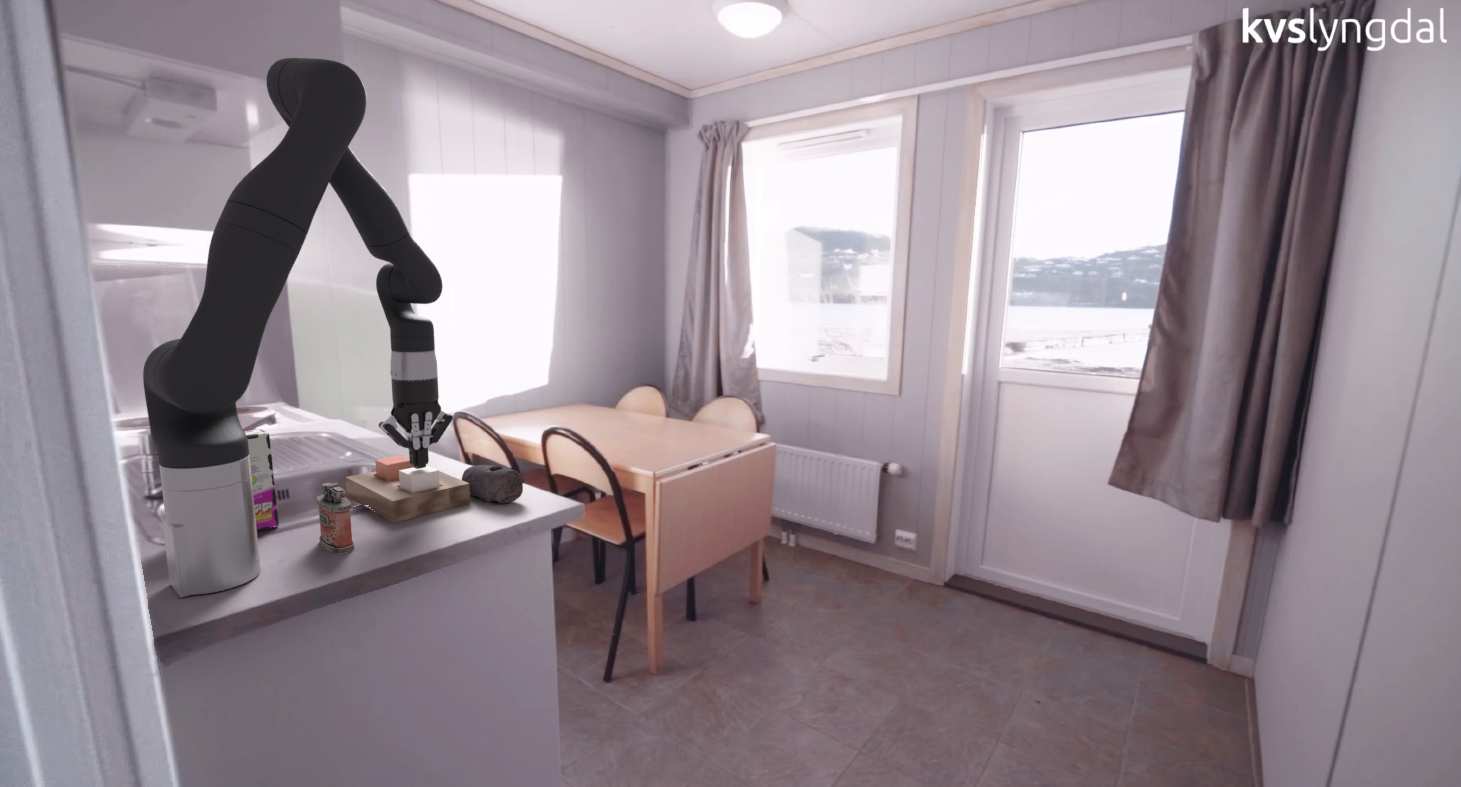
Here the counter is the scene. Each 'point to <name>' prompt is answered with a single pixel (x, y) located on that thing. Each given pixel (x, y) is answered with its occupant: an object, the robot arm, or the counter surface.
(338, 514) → the lighter
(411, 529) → the counter surface
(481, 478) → the perforated stone tool
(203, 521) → the robot arm
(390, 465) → the salmon pink block
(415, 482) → the key white
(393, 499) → the frame
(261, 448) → the candy bar box
